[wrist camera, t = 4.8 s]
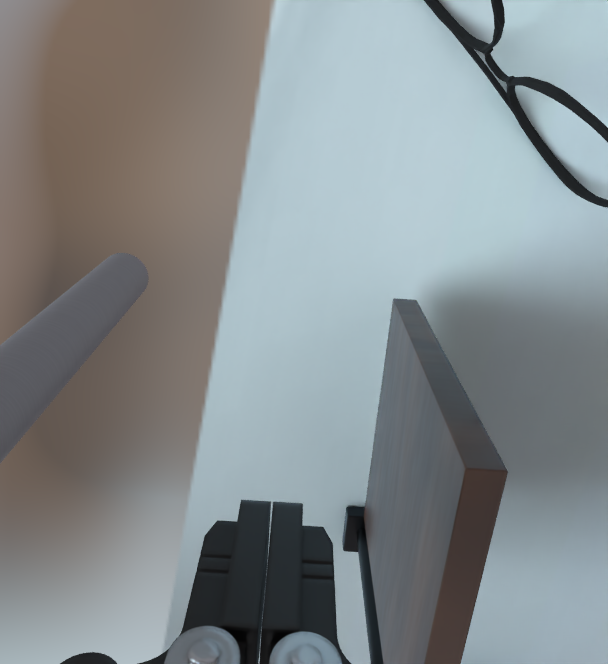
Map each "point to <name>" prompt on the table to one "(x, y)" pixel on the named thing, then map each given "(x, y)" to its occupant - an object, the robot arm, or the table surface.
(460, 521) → the door
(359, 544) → the upright peg on plate
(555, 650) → the table surface
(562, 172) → the glasses
